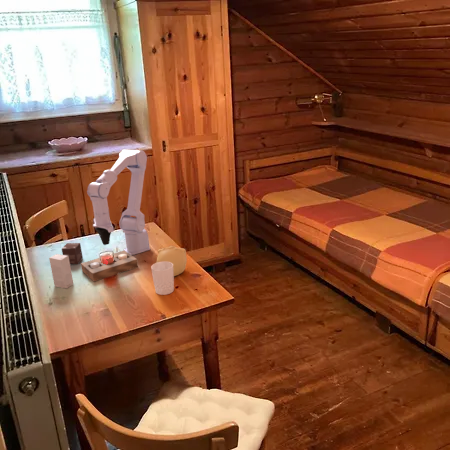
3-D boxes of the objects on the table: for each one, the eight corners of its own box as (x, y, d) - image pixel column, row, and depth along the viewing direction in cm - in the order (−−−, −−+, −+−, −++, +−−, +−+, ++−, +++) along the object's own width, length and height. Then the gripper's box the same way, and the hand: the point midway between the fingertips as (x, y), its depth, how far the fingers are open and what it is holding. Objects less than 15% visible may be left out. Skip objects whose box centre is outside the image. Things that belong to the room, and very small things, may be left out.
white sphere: (98, 270, 200) (97, 261, 199) (102, 273, 197) (100, 264, 196) (90, 272, 198) (88, 264, 197) (93, 275, 196) (92, 266, 194)
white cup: (158, 297, 177) (155, 272, 173) (150, 289, 183) (148, 264, 180) (178, 292, 180) (176, 267, 177) (170, 283, 187) (168, 259, 183)
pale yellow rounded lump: (189, 266, 200) (187, 241, 197) (183, 279, 189) (181, 253, 185) (162, 265, 202) (159, 241, 198) (154, 279, 191) (151, 253, 187)
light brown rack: (125, 257, 211) (124, 250, 210) (138, 266, 202) (137, 259, 201) (82, 271, 201) (80, 263, 199) (93, 281, 192) (92, 273, 190)
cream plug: (125, 261, 207) (124, 253, 205) (129, 264, 204) (128, 255, 203) (117, 264, 205) (116, 255, 203) (121, 266, 202) (120, 258, 201)
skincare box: (74, 284, 190) (69, 255, 186) (66, 289, 187) (61, 260, 183) (61, 281, 193) (56, 253, 189) (54, 286, 189) (48, 257, 185)
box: (83, 258, 213) (80, 242, 210) (78, 264, 207) (75, 248, 205) (69, 258, 213) (66, 242, 211) (64, 264, 208) (61, 248, 205)
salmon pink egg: (111, 263, 203) (110, 254, 202) (115, 265, 200) (114, 257, 199) (103, 265, 201) (102, 257, 200) (107, 268, 198) (106, 259, 197)
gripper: (84, 210, 198) (89, 241, 203) (99, 219, 187) (104, 252, 192) (100, 206, 202) (105, 237, 206) (116, 214, 191) (121, 247, 196)
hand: (106, 244), depth 199 cm, fingers closed
